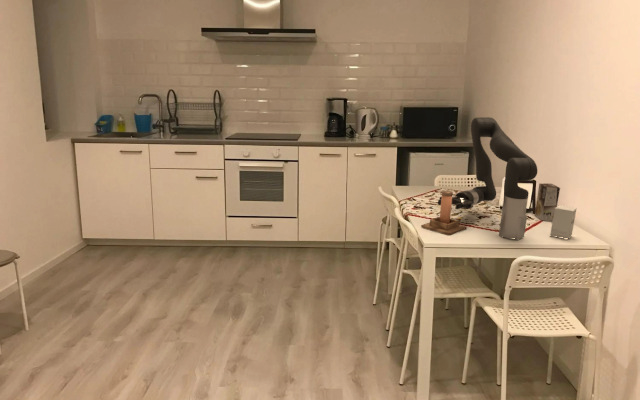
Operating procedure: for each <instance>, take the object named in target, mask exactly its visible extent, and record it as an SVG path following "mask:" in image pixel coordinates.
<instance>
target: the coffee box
mask: <svg viewBox="0 0 640 400" xmlns="http://www.w3.org/2000/svg"><path fill="white" fill-rule="evenodd" d="M560 190H561V187H560V186H557V185H555V184H553V183H540V182H539V183H538V190H537V198H536V204H535V211H534V216H535V217H537V218H538V219H539V220H540V221H542V222H543V221H544V222H553V216H554V210H555V208H556V207H557V206H558V201H559V195H560Z"/></svg>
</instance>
